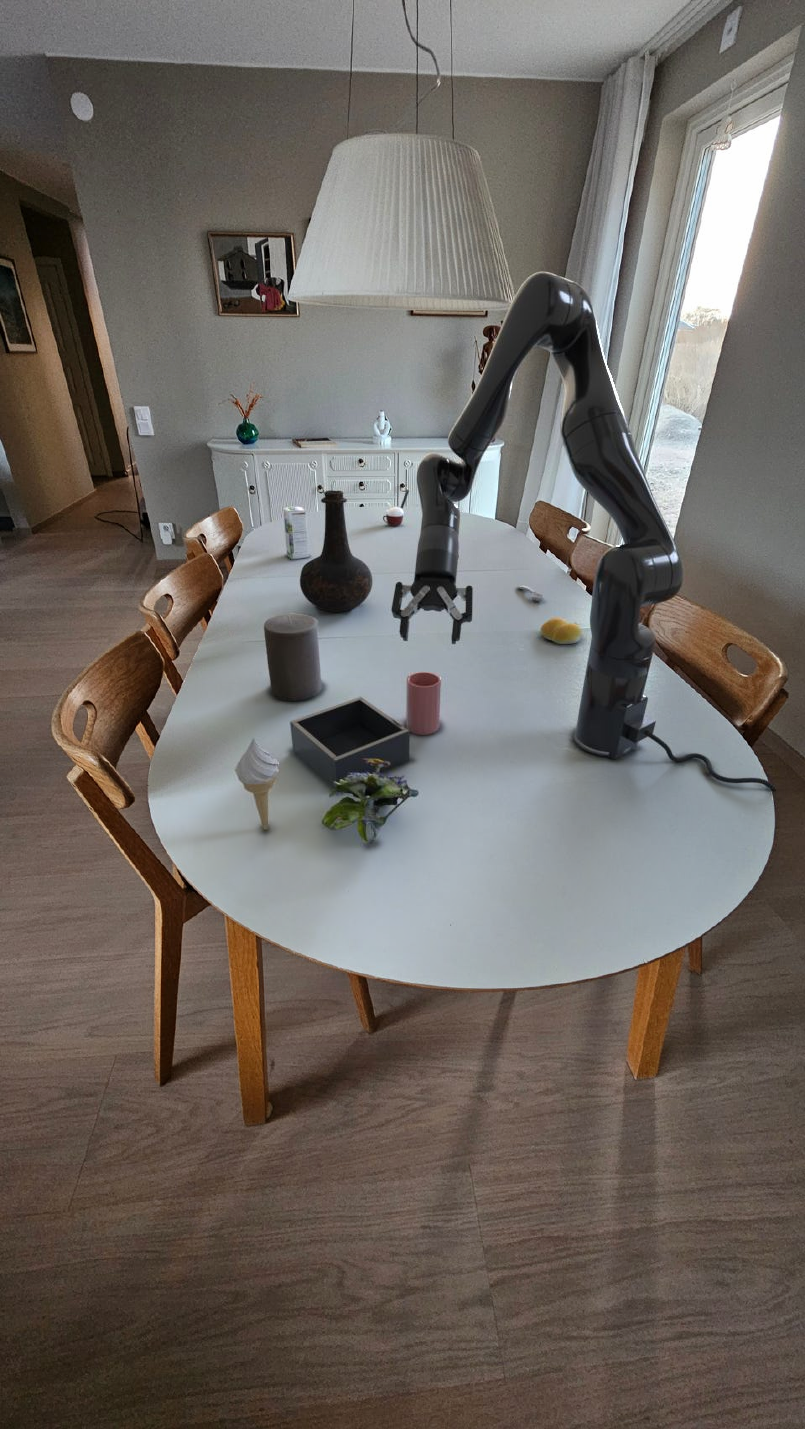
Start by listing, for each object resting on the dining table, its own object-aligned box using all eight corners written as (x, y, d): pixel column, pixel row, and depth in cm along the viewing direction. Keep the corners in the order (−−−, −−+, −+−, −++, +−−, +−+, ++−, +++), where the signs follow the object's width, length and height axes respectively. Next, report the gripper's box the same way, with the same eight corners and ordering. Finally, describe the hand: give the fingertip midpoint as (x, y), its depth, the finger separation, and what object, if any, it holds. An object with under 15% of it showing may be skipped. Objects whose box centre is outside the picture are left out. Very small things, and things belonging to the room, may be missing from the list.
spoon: (535, 603, 159) (535, 595, 159) (515, 591, 170) (516, 584, 169) (545, 602, 160) (546, 594, 159) (525, 590, 170) (526, 583, 170)
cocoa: (382, 527, 226) (382, 492, 220) (383, 523, 231) (382, 489, 225) (409, 527, 226) (409, 492, 220) (408, 523, 231) (409, 489, 225)
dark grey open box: (409, 760, 99) (409, 730, 96) (337, 791, 92) (335, 760, 89) (361, 724, 109) (360, 696, 106) (292, 750, 102) (289, 721, 99)
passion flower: (378, 835, 92) (424, 773, 89) (381, 879, 82) (433, 810, 79) (312, 799, 89) (358, 734, 86) (307, 839, 79) (358, 767, 76)
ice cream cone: (268, 810, 88) (256, 720, 81) (295, 827, 85) (285, 735, 78) (236, 831, 85) (220, 738, 77) (263, 849, 82) (249, 755, 74)
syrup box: (286, 554, 196) (281, 507, 188) (304, 552, 198) (300, 505, 190) (291, 559, 191) (287, 511, 184) (309, 557, 193) (306, 509, 186)
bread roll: (566, 648, 136) (569, 631, 134) (534, 636, 142) (536, 619, 140) (589, 638, 141) (591, 622, 139) (556, 627, 146) (559, 610, 144)
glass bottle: (295, 598, 162) (285, 486, 148) (360, 590, 168) (356, 481, 153) (311, 623, 148) (302, 501, 133) (382, 613, 153) (380, 495, 139)
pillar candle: (273, 704, 114) (264, 629, 107) (268, 681, 122) (260, 609, 115) (326, 698, 117) (320, 623, 109) (318, 675, 125) (312, 604, 117)
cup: (445, 727, 108) (448, 680, 103) (420, 738, 105) (421, 690, 100) (425, 714, 112) (426, 668, 107) (399, 724, 109) (399, 677, 104)
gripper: (396, 545, 110) (386, 630, 106) (477, 548, 108) (470, 635, 104) (400, 565, 117) (391, 646, 113) (476, 569, 115) (469, 651, 111)
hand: (429, 641), depth 109 cm, fingers open, 8 cm apart
